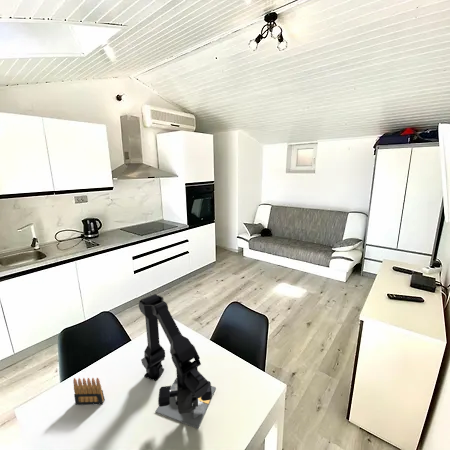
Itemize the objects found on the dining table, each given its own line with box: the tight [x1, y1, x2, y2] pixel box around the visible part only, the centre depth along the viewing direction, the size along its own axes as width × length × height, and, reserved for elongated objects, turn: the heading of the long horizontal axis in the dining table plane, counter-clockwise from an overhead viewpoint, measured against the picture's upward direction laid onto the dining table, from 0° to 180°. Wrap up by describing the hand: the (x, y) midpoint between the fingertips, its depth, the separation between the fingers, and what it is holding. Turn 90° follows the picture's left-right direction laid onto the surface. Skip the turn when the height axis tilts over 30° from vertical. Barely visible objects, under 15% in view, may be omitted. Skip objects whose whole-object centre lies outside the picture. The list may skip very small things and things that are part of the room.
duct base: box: [155, 382, 217, 430], centre depth 97 cm, size 18×17×3 cm
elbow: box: [173, 377, 204, 419], centre depth 96 cm, size 16×7×4 cm, turn 35°
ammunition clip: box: [73, 377, 105, 406], centre depth 96 cm, size 11×2×12 cm, turn 90°
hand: (186, 411), depth 91 cm, fingers closed
